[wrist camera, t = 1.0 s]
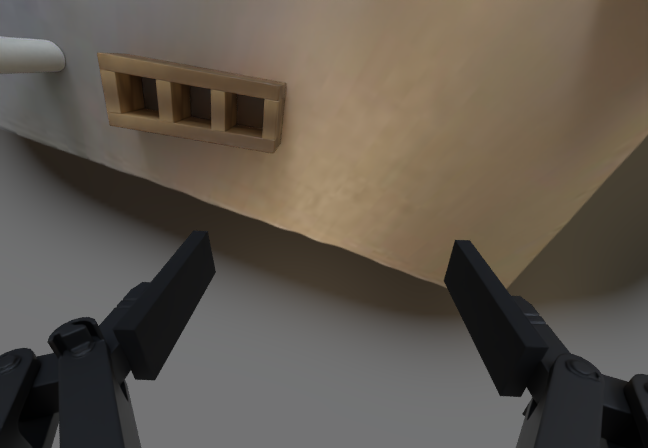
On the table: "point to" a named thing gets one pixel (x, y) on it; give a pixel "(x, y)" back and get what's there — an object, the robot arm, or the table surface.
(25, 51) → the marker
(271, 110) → the pen holder
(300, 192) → the table surface
